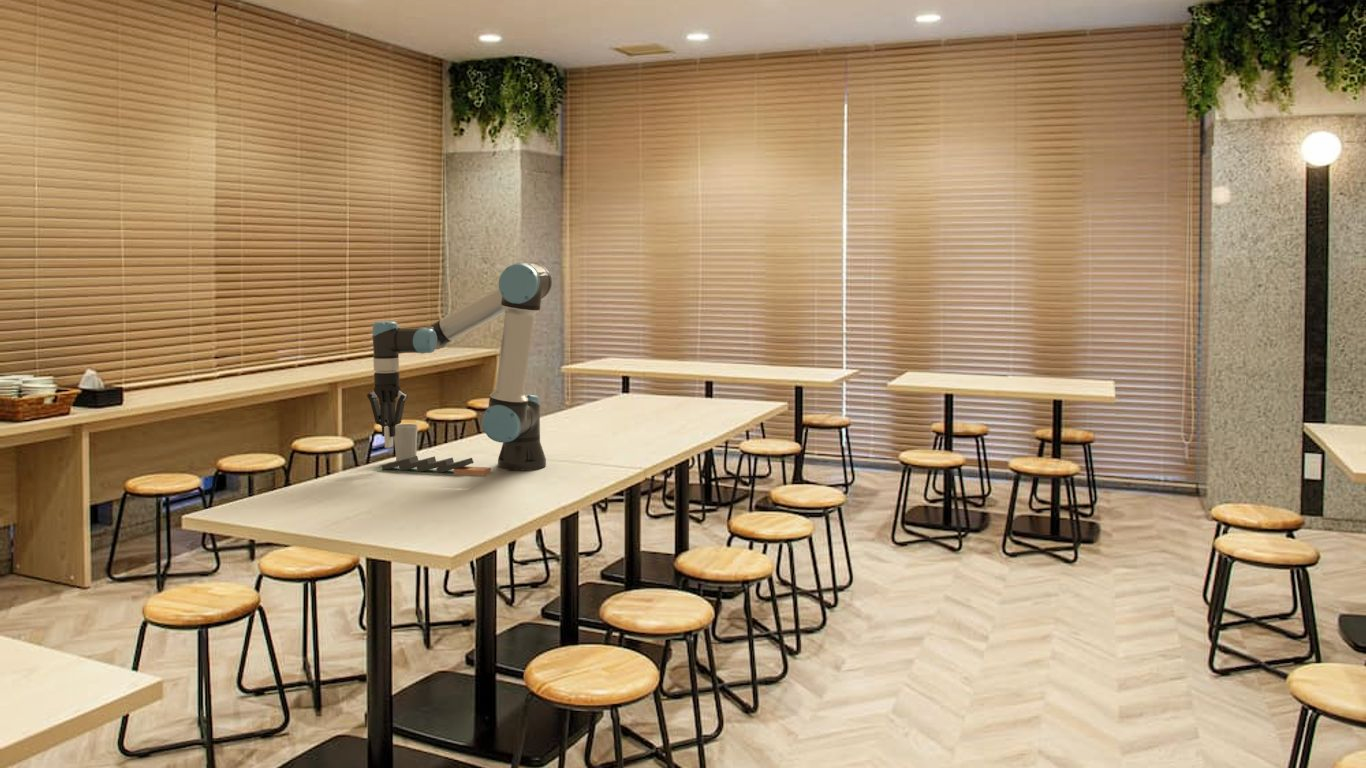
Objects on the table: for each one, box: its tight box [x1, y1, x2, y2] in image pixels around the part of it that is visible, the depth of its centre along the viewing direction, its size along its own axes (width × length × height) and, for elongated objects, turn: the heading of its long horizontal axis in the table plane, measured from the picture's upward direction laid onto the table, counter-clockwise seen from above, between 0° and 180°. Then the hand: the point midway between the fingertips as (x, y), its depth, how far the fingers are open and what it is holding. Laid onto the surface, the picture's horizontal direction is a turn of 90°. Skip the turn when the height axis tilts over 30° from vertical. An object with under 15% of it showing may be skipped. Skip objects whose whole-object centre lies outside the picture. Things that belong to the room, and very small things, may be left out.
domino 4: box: [435, 457, 474, 473], centre depth 330 cm, size 2×5×10 cm
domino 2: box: [398, 456, 437, 471], centre depth 333 cm, size 2×5×10 cm
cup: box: [393, 423, 419, 461], centre depth 348 cm, size 8×8×12 cm
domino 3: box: [416, 456, 455, 472], centre depth 332 cm, size 2×5×10 cm
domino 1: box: [380, 455, 419, 470], centre depth 335 cm, size 2×5×10 cm
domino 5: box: [453, 465, 492, 477], centre depth 329 cm, size 2×5×10 cm
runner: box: [370, 466, 494, 478], centre depth 332 cm, size 38×7×1 cm, turn 76°
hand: (389, 446), depth 335 cm, fingers closed
